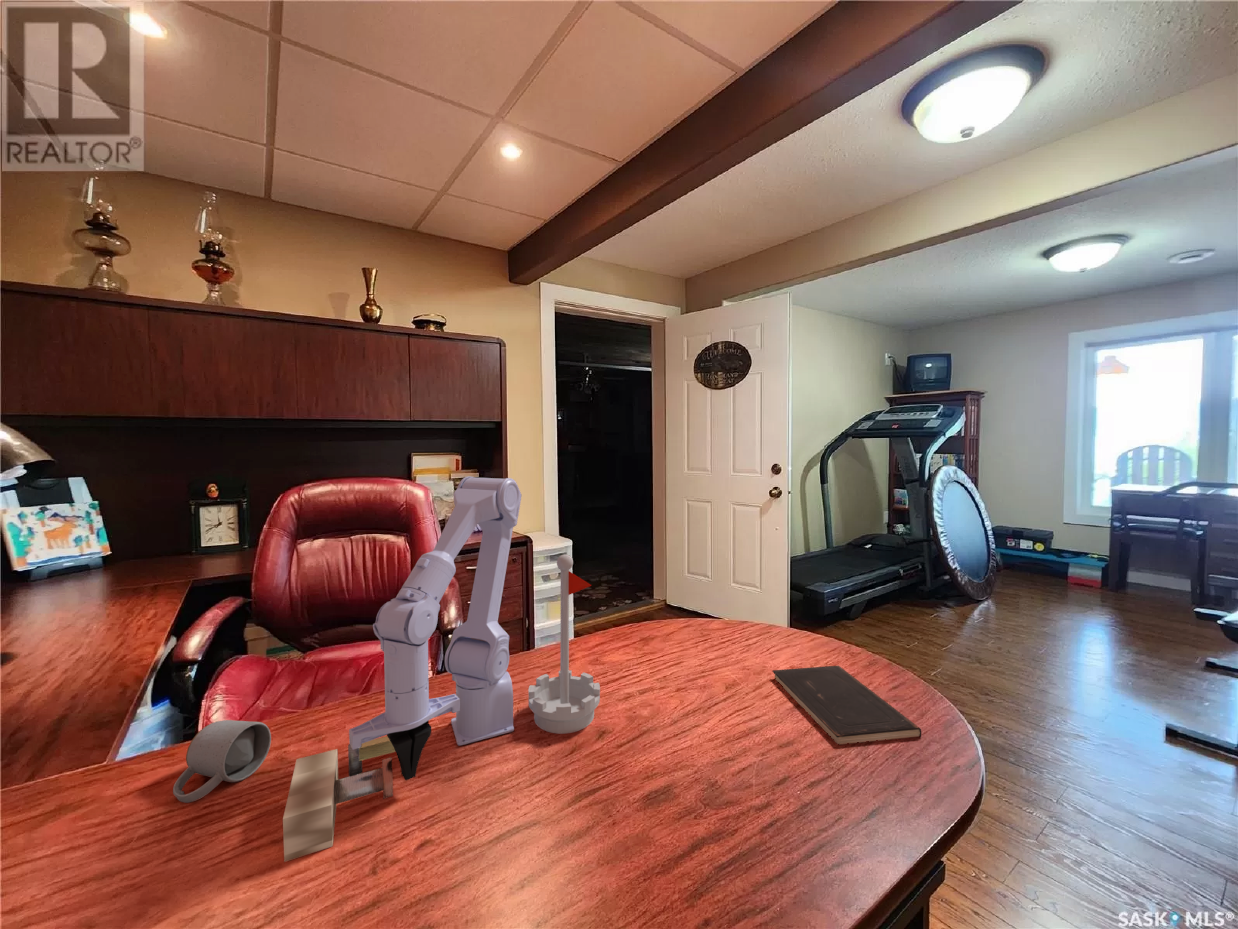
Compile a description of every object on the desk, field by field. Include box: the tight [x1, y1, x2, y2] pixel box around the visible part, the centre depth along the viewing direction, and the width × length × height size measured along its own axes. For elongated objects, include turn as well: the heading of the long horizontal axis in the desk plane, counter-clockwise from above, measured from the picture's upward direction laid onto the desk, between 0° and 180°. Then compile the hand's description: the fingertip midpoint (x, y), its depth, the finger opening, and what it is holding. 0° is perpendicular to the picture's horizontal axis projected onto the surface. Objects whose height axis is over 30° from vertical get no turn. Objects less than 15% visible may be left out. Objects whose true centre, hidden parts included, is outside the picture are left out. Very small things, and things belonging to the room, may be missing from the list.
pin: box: [334, 757, 394, 805], centre depth 67 cm, size 8×5×5 cm, turn 117°
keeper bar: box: [347, 735, 396, 777], centre depth 75 cm, size 10×2×5 cm, turn 117°
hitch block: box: [282, 748, 339, 863], centre depth 64 cm, size 5×12×5 cm, turn 27°
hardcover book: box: [772, 665, 922, 745], centre depth 94 cm, size 16×23×2 cm
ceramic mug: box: [172, 719, 272, 804], centre depth 72 cm, size 11×8×8 cm
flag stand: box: [528, 554, 601, 735], centre depth 88 cm, size 13×13×30 cm
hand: (408, 775), depth 70 cm, fingers closed
